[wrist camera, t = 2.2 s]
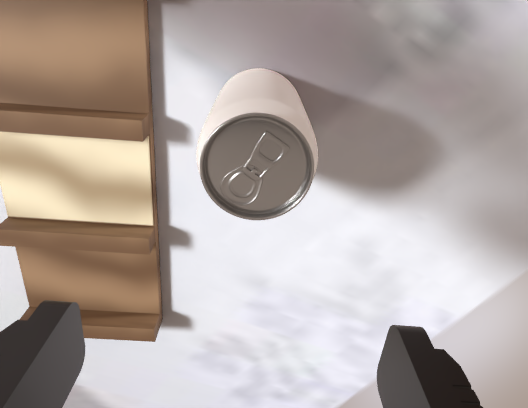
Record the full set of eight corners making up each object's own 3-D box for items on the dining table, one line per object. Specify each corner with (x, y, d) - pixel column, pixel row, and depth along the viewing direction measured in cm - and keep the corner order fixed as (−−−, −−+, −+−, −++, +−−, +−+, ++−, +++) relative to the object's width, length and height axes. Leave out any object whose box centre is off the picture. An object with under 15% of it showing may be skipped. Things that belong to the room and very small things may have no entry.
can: (199, 120, 31) (165, 183, 20) (248, 47, 28) (240, 73, 18) (267, 167, 32) (270, 248, 22) (319, 102, 30) (351, 157, 19)
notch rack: (-45, -53, 26) (-81, -59, 23) (145, -36, 26) (131, -41, 23) (37, 311, 39) (21, 334, 36) (162, 318, 39) (155, 341, 37)
